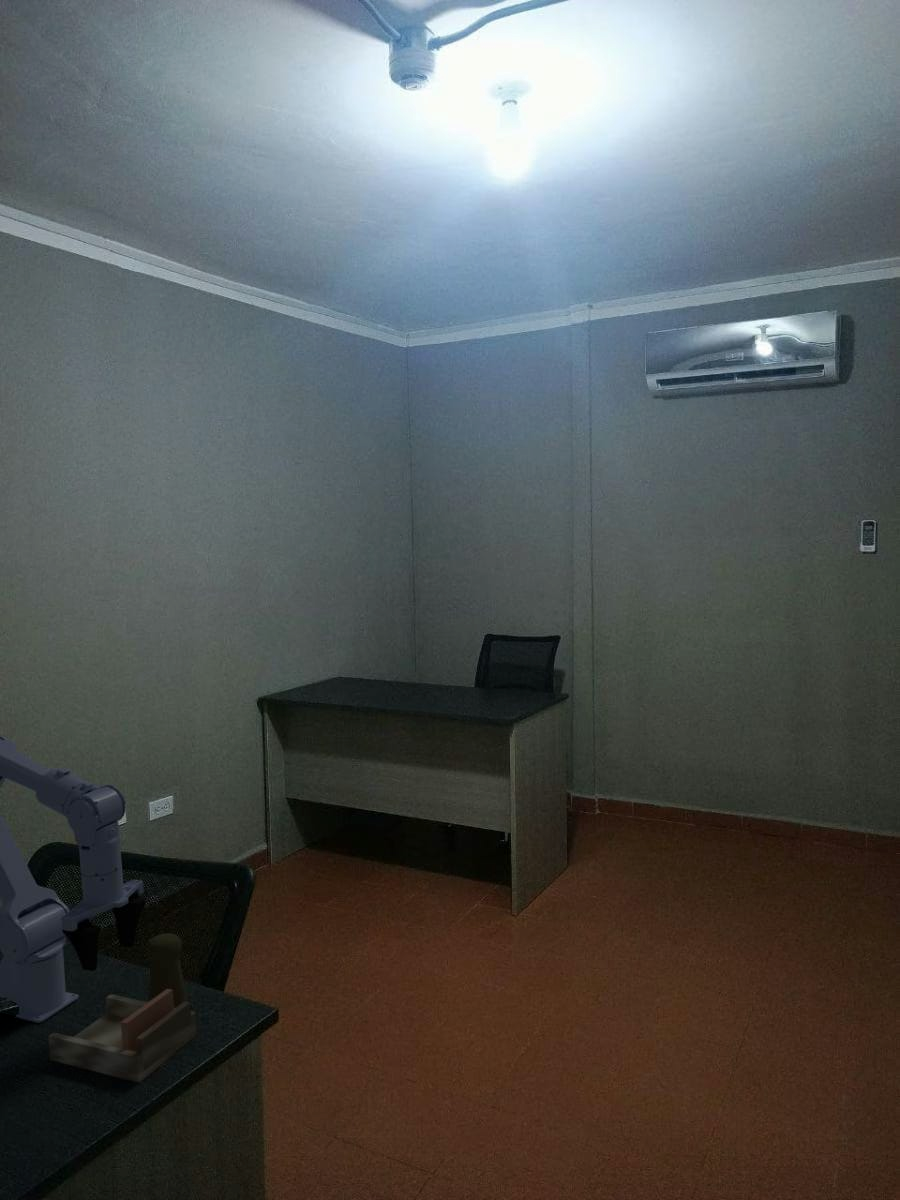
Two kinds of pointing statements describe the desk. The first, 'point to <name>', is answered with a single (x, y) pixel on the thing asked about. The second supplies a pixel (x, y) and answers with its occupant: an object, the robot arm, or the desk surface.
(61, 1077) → the desk surface
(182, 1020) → the wooden tray
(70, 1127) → the desk surface
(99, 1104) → the desk surface
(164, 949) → the brown tapered rounded cylinder
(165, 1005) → the lane pusher
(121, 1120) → the desk surface
